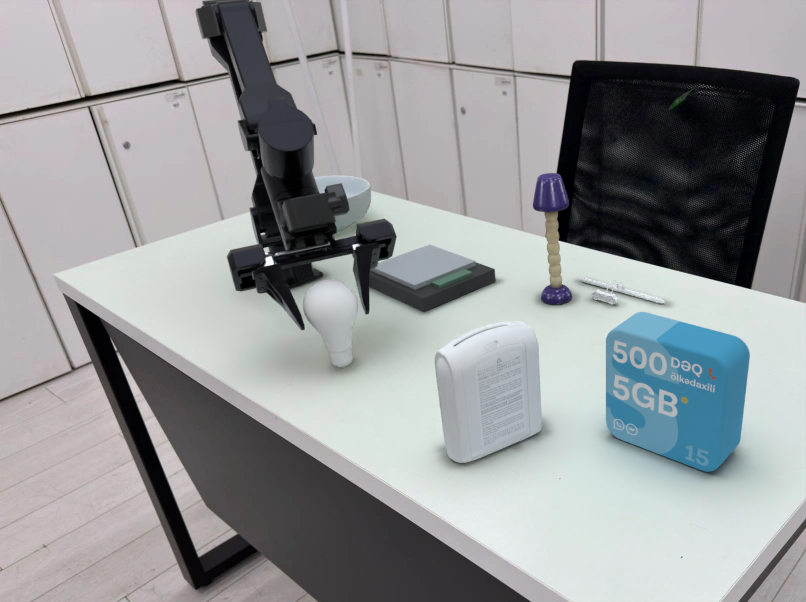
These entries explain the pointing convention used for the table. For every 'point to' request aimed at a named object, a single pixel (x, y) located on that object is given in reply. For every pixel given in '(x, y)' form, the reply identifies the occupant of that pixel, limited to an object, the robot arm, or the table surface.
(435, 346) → the table surface
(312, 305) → the lightbulb
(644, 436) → the data package
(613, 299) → the picture light
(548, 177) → the toy lamp
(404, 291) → the scale
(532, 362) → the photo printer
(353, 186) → the cereal bowl
